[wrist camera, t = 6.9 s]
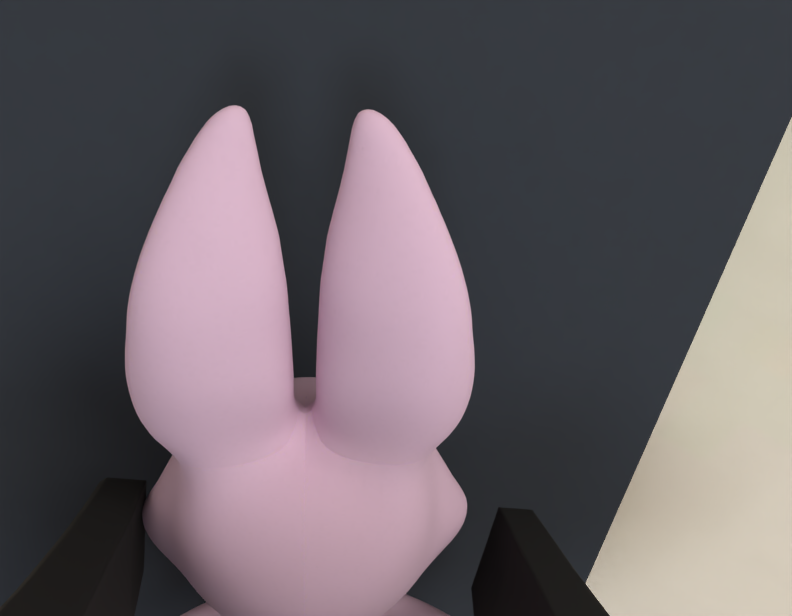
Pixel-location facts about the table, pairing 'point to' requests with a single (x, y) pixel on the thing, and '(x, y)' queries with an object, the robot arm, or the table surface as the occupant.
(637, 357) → the desk mat
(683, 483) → the table surface
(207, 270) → the rabbit figure
